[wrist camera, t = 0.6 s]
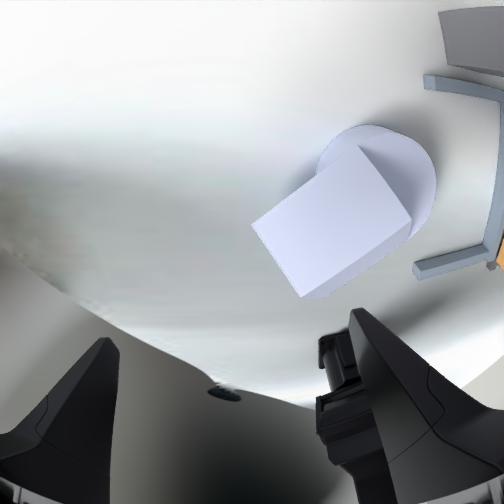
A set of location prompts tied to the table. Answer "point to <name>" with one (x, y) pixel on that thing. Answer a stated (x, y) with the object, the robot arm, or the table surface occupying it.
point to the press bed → (484, 61)
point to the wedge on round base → (350, 209)
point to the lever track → (493, 264)
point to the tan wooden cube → (501, 256)
